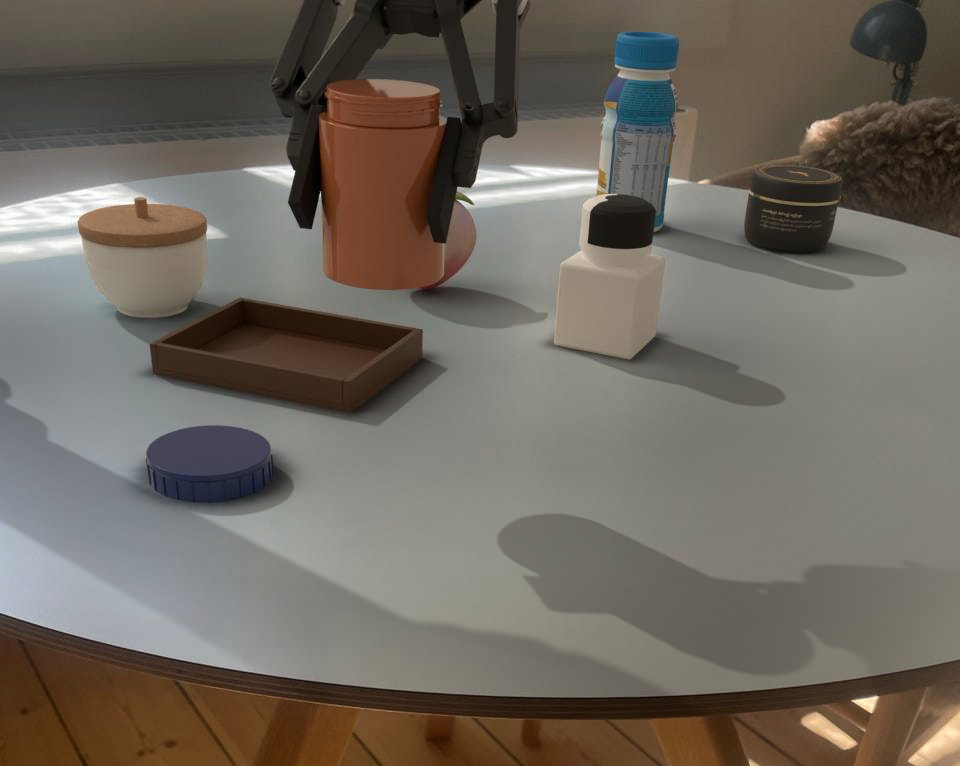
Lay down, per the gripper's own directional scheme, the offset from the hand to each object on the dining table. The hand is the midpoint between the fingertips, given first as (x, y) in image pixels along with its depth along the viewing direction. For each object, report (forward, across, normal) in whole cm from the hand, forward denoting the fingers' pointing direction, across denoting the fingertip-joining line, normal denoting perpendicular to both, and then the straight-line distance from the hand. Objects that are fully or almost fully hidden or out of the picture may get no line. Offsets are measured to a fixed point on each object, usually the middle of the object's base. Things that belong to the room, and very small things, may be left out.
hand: (367, 222), depth 68 cm
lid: (+13, +10, -8) cm, 18 cm away
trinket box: (-8, +28, -31) cm, 43 cm away
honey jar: (0, 0, -5) cm, 5 cm away
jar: (-39, -28, -62) cm, 79 cm away
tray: (-1, +12, -24) cm, 26 cm away
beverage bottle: (-40, -10, -63) cm, 75 cm away
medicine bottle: (-11, -12, -34) cm, 38 cm away
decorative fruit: (-17, +7, -41) cm, 45 cm away
